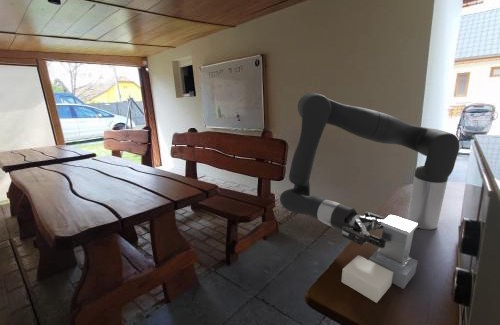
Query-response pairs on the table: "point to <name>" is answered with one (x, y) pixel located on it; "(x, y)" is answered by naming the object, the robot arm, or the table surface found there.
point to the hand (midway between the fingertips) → (392, 237)
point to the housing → (396, 241)
